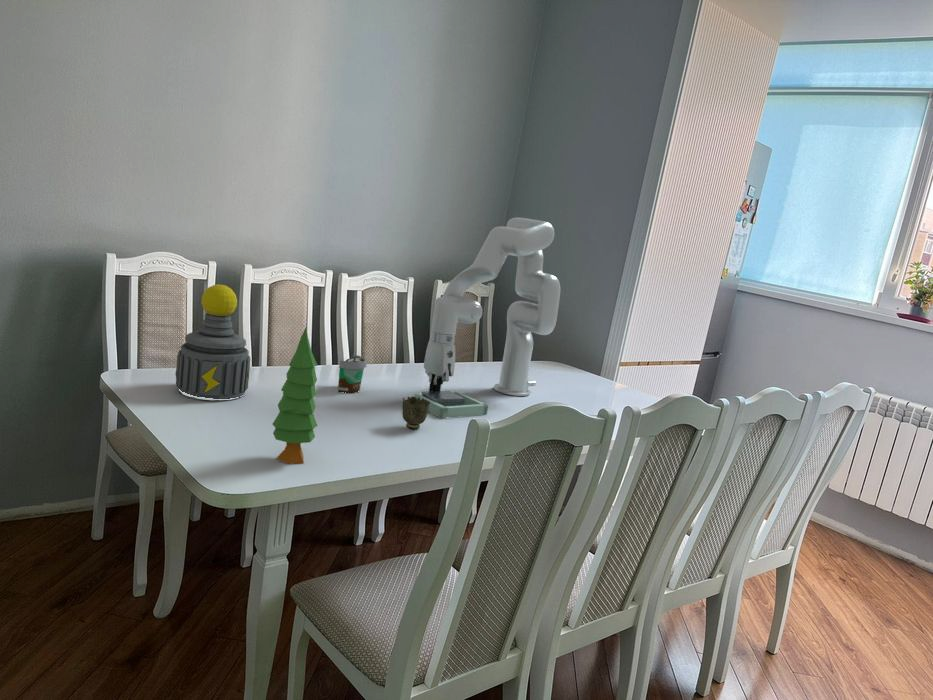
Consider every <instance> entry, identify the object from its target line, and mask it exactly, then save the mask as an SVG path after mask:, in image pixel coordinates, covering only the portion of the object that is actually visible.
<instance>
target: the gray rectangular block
mask: <svg viewBox="0 0 933 700" xmlns="http://www.w3.org/2000/svg"><path fill="white" fill-rule="evenodd" d="M420 395H422V396H424V397H426V398H428V399H430V400H432V401H434V402H436V403H438V404H440V405H443V406H445V407H447V406H460V405H464V400H465V398H463V397H461V396H459V395H457V394H455V393H454V391H451V390H440V391H429V390H422V391H421V393H420Z"/></svg>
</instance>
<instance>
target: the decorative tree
mask: <svg viewBox="0 0 933 700" xmlns="http://www.w3.org/2000/svg"><path fill="white" fill-rule="evenodd" d="M288 365H289V369H288V370H287V372H286V380H285V382H284V384H283V386H282V387H281V389H280V390H281V391H282V395H283V396H282V397H281V398H280V400H279V401H278V404H277V407H278V410H279V411H278V414H277V416H276V417H275V419H274V421H273V423H272V426H274V428H275V429H274V431H273V432H272V434H273V436H274V437H273V438H274V439H275V440H277V441H280V442H285V443H286V446H285V448H284V449H283V450H282V451H281V453H279V455H277V457H278V458H277V460H279V459H280V460H279V462H281V461H283V462H282V463H284V462H286V463H285V464H287V463H290V464H289V465H292V464H291V463H293V465H294V464H295V465H296V464H297V465H300V464H303V465H304V464H305V461H304V453H303V449H302V445H301V444H308V443H312V441H313V440H314V438H316V435H315V431H314V429H315V428H316V427H318V423H317V420H316V417H315V415H314V412H315V409H316V408H317V406H316V403H315V400H314V397H316V396H317V389H316V383H317V381H318V379H317V378H318V377H317V373H316V369H315V367H317V366H318V363H317V361H316V359H315V356H314V353H313V351H312V347H311V344H310V339H309V335H308V330H307V327H305V328H304V330H303V332H302V335H301V336H300V340H299V342H298V344H297V347H296V351H295V352H294V354H293V356H292V357H291V360H290V361H289V364H288Z"/></svg>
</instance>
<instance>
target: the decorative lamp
mask: <svg viewBox="0 0 933 700" xmlns="http://www.w3.org/2000/svg"><path fill="white" fill-rule="evenodd" d="M237 298H238V297H237V295H236V293H235V292H234V290H233V289H232V288H231V287H229V286H227V285H225V284H213V285H211V286H209V287H207V289H205V290H204V291H203V294H202V296H201V301H200V302H201V306H202V309H203V310H204V312H205V314H204V319H202V322H201V324H202V326H200V327H199V330H195V331H192V332H189V333H187V334H186V335H185V337H184V341H185V343H183V344H182V345H180V349H179V350H178V352H177V355H176V369H175V384H176V387H177V389H178V388H179V389H180V390H181V391H182V392H185V393H187V394H190V395H193V396H197V397H205V398H213V399H230V398H236V397H240V396H242V395H243V394H244V393H245V394H246V391H248V388H249V380H250V372H251V357H250V355H249V354H250V353H249V350H248V349H247V348H246V346H247V341H246V339H245V337H242V336H241V335H239V334H237V333H235V332H234V329H233V322H232V316H231V315H232V314H233V313H234V312H235V310H236V308H237V306H238V299H237ZM245 394H244V395H245ZM244 395H243V396H244ZM243 396H242V397H243ZM240 398H241V397H240Z"/></svg>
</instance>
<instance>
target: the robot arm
mask: <svg viewBox="0 0 933 700" xmlns="http://www.w3.org/2000/svg"><path fill="white" fill-rule="evenodd" d="M554 239H555V229H554V226H553V225H552V224H551V223H550V222H548V221H546V220H545V221H544V220H538V219H531V218H528V217H527V218H526V217H513V218H510V219H509V220H508V221H507V222H506V226H503V225H502V226H495V227H493V228H492V229H491V230H490V231H489V234H488V235H487V237H486V239H485V241H484V243H483V244H482V246H481V248H480V250H479V252H478V254H477V256H476V257H475V259H474V261H473V263H472V264H471V265H470V266H468V267H467V268H465V269H463V270H462V271H461V272H459V274H457V275H456V276H455V277H453V278H452V279H451V280H450V282H449V283H448V285H447V287H446V288H445V290H444V292H443V294H442V296H439V297H437V298H436V299H435V301H434V305H433V306H434V308H433V314H432V320H431V321H432V322H431V329H430V335H429V336H430V337H429V340H428V343H427V345H426V351H425V353H424V354H425V356H424V360H423V368H424V370H425V371H424V372H425V374H426V375H427V376H428V382H429V387H428V391H441V388H442V387H441V386H442V385H443V384H444V383H445V382H449V381H450V378H451V377H453V376H454V372H455V366H456V346H455V338H456V334H457V333H456V332H457V331H456V330H457V326H458V323H463V324H469V325H472V324H475V323H477V322H479V321H480V319H481V318H482V317H483V311H484V310H483V307H482V306H481V304H480V303H479V302H478V301H476V300H475V299H470V298H467V297H464V294H465V293H466V292H467V291H468V290H469V289H471V288H472V287H473V286H477V285H478V284H482V283H485V282H486V283H487V282H489V281H493V280H495V279H496V278H497V277H498V275H499V273H500V271H501V269H502V268H503V265H504V264H505V262H506V260H507V258H508V256H514V257H517V266H516V274H515V284H514V285H515V286H514V289H515V293H516V294H517V295H518V296H519V297H521V298H524V299H529V300H533V301H536V302H538V303H533V302H529V301H526V300H525V301H524V300H517V301H514V302H512V303H511V304H510V306H509V307H508V309H507V311H506V312H507V313H506V326H507V327H506V338H505V344H504V351H503V357H502V362H501V370H500V376H499V382H498V383H495V384H494V385H493V389H494V391H496V392H498V393H501V394H505V395H508V396H513V397H514V396H517V397H526V396H529V395H530V394H531V390H530V389H529V388H530V387H535V386H537V382H536V380H530V379H529V377H528V376H529V374H530V373H529V372H530V367H531V359H532V354H533V348H534V339H533V335H532V334H533V333H534V334H537V335H540V336H547V335H550V334H551V333H552V332H553V331H554V330H555V327H556V325H557V319H558V313H559V307H560V299H561V284H560V280H559V278H558V277H556V276H555V275H553V274H550V273H546V272H544V271H543V268H544V267H543V266H544V252H543V250H544V249H546V248H548V247H549V246H550V245H551V244H552V243H553V241H554Z"/></svg>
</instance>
